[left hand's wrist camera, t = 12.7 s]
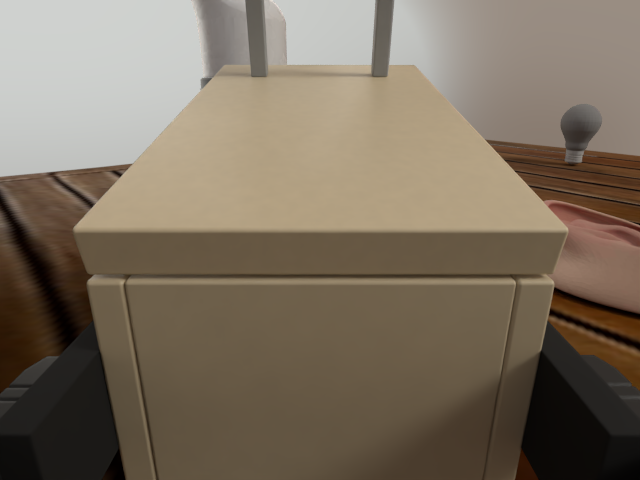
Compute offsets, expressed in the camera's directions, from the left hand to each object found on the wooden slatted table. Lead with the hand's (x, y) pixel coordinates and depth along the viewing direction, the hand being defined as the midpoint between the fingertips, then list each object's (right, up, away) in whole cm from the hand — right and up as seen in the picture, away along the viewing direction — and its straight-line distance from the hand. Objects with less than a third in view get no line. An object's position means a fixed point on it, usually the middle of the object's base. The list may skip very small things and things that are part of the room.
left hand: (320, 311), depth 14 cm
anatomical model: (+22, -1, +19) cm, 29 cm away
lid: (0, +6, +2) cm, 6 cm away
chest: (0, -5, +6) cm, 8 cm away
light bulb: (+44, +15, +63) cm, 78 cm away
